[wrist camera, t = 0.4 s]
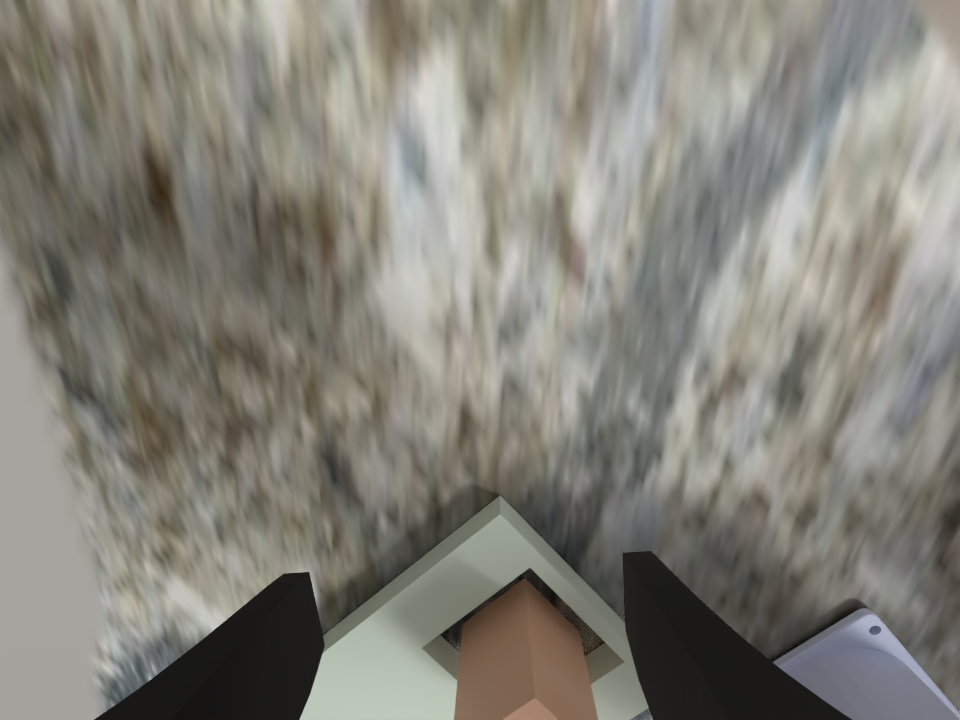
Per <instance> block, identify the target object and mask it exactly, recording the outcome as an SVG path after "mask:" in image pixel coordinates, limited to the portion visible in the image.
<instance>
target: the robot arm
mask: <svg viewBox="0 0 960 720" xmlns="http://www.w3.org/2000/svg"><path fill="white" fill-rule="evenodd" d="M623 576H624V604H625V630H626V634H627V638H628V642H629V646H630V650H631V654H632V658H633V661H634V665H635V669H636V672H637V676H638V680H639V682H640V685H641V688H642V691H643V693H644V696H645V699H646V701H647V704H648V707H649V710H650V712H651V715H652V718H653V720H960V712H959V711H958V710H957V709H956V708H955V707H954V705H953V704H952V703H951V702H950V701H949V699H948V698H947V697H946V696H945V695H944V694H943V692H942V691H941V690H940V689H939V688H938V687H937V685H936V684H935V683H934V682H933V681H932V679H931V678H930V677H929V676H928V675H927V674H926V672H925V671H924V670H923V669H922V668H921V666H920V665H919V664H918V663H917V662H916V661H915V659H914V658H913V657H912V656H911V655H910V653H909V652H908V651H907V650H906V649H905V648H904V646H903V645H902V644H901V643H900V642H899V640H898V639H897V638H896V637H895V636H894V635H893V633H892V632H891V631H890V630H889V629H888V628H887V626H886V625H885V624H884V623H883V622H882V620H881V619H880V618H879V617H878V616H877V615H876V614H875V613H874V612H873V611H872V610H870V609H867V608H863V609H859V610H857V611H855V612H853V613H852V614H850V615H848V616H847V617H845V618H844V619H842V620H840V621H839V622H837V623H835V624H834V625H832V626H831V627H829V628H827V629H826V630H824V631H822V632H821V633H819V634H817V635H816V636H814V637H813V638H811V639H809V640H808V641H806V642H804V643H803V644H801V645H800V646H798V647H796V648H795V649H793V650H791V651H790V652H788V653H786V654H785V655H783V656H782V657H780V658H778V659H777V660H775V661H773V662H771V661H770V660H769V659H768V658H766V657H765V656H764V655H763V654H762V653H760V652H759V651H758V650H757V649H755V648H754V647H753V646H752V645H751V644H749V643H748V642H747V641H746V640H745V639H743V638H742V637H741V636H740V635H739V634H738V633H737V632H735V631H734V630H733V629H732V628H731V627H730V626H729V625H727V624H726V623H725V622H724V621H723V620H722V619H721V618H720V617H719V616H718V615H716V614H715V613H714V612H713V611H712V610H711V609H710V608H709V607H708V606H707V605H705V604H704V603H703V602H702V601H701V600H700V599H699V598H698V597H697V596H696V595H695V594H694V593H693V592H692V591H691V590H690V589H689V588H688V587H687V586H686V585H685V584H683V583H682V582H681V581H680V580H679V579H678V578H677V577H676V576H675V575H674V574H673V573H672V572H671V571H670V570H669V569H668V568H667V567H666V566H665V565H664V564H663V563H662V562H661V561H660V560H659V559H658V558H657V557H656V556H655V555H654V554H653V553H652V552H651V551H646V552H630V553H623ZM324 647H325V643H324V639H323V634H322V630H321V625H320V620H319V616H318V611H317V606H316V602H315V597H314V592H313V588H312V583H311V579H310V574H309V572H304V573H288V574H283V575H282V576H280V577H279V578H277V579H276V580H275V581H274V582H272V583H271V584H270V585H268V586H267V587H266V588H265V589H263V590H262V591H261V592H260V593H259V594H257V595H256V596H255V597H254V598H253V599H251V600H250V601H249V602H248V603H247V604H245V605H244V606H243V607H242V608H241V609H239V610H238V611H237V612H236V613H235V614H233V615H232V616H231V617H230V618H228V619H227V620H226V621H225V622H224V623H222V624H221V625H220V626H219V627H217V628H216V629H215V630H214V631H213V632H211V633H210V634H209V635H208V636H207V637H205V638H204V639H203V640H202V641H200V642H199V643H198V644H197V645H195V646H194V647H193V648H191V649H190V650H189V651H188V652H186V653H185V654H184V655H182V656H181V657H180V658H179V659H177V660H176V661H175V662H173V663H172V664H171V665H169V666H168V667H167V668H166V669H164V670H163V671H162V672H160V673H159V674H158V675H157V676H155V677H154V678H153V679H151V680H150V681H149V682H147V683H146V684H145V685H143V686H142V687H140V688H139V689H138V690H136V691H135V692H134V693H132V694H131V695H129V696H128V697H127V698H125V699H124V700H122V701H121V702H119V703H118V704H117V705H115V706H114V707H112V708H111V709H109V710H108V711H106V712H105V713H103V714H102V715H100V716H99V717H98V718H96V719H94V720H300V717H301V715H302V713H303V710H304V708H305V705H306V703H307V701H308V698H309V696H310V693H311V690H312V687H313V684H314V680H315V677H316V674H317V671H318V667H319V664H320V661H321V657H322V654H323V650H324Z"/></svg>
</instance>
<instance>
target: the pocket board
mask: <svg viewBox="0 0 960 720" xmlns="http://www.w3.org/2000/svg"><path fill="white" fill-rule="evenodd" d="M529 568H531V569H532V570H533V571H534V572H535V573H536V574H537V575H538V576H539V577H540V578H541V579H542V580H543V581H544V582H545V583H546V584H547V585H548V586H549V587H550V588H551V589H552V590H553V591H554V592H555V593H556V594H557V595H558V596H559V597H560V598H561V599H562V600H563V601H564V602H565V603H566V604H567V605H568V606H569V607H570V608H571V609H572V610H573V611H574V612H575V613H576V614H577V615H578V616H579V617H580V618H581V619H582V620H583V621H584V622H585V623H586V624H587V625H588V626H589V627H590V628H591V629H592V630H593V631H594V632H595V633H596V634H597V635H598V636H599V637H600V638H601V639H602V640H603V641H604V642H605V643H604V644H602V645H601V646H599V647H598V648H596V649H595V650H593V651H592V652H591V653H589V654H588V655H586V656H585V660H586V664H587V669H588V674H589V679H590V683H591V688H592V693H593V697H594V702H595V707H596V711H597V716H598V720H630V719H632V718H633V717H635V716H637V715H638V714H640V713H641V712H643V711H645V710H646V709H648V708H649V707H648V704H647V701H646V699H645V696H644V693H643V691H642V688H641V685H640V682H639V680H638V676H637V672H636V669H635V665H634V661H633V658H632V654H631V650H630V646H629V642H628V638H627V634H626V630H625V622H624V621H623V620H622V619H621V618H620V617H619V616H618V615H617V614H616V613H615V612H614V611H613V610H612V609H611V608H610V607H609V606H608V605H607V604H606V603H605V602H604V601H603V600H602V599H601V598H600V596H599V595H598V594H597V593H596V592H595V591H594V590H593V589H592V588H591V587H590V586H589V585H588V584H587V583H586V582H585V581H584V580H583V579H582V578H581V577H580V576H579V575H578V574H577V573H576V572H575V571H574V570H573V569H572V568H571V567H570V566H569V565H568V564H567V563H566V562H565V561H564V560H563V559H562V558H561V557H560V556H559V555H558V554H557V553H556V552H555V551H554V550H553V549H552V548H551V547H550V546H549V545H548V544H547V543H546V541H545V540H544V539H543V538H542V537H541V536H540V535H539V534H538V533H537V532H536V531H535V530H534V529H533V528H532V527H531V526H530V525H529V524H528V523H527V522H526V521H525V520H524V519H523V518H522V517H521V516H520V515H519V514H518V513H517V512H516V511H515V510H514V509H513V508H512V507H511V506H510V505H509V504H508V503H507V502H506V501H505V500H504V499H503V498H502V497H501V496H498V497H497V498H496V499H495V500H493V501H492V502H491V503H490V504H488V505H487V506H486V507H485V508H483V509H482V510H481V511H480V512H478V513H477V514H476V515H474V516H473V517H472V518H471V519H469V520H468V521H467V522H466V523H464V524H463V525H462V526H461V527H459V528H458V529H457V530H456V531H454V532H453V533H452V534H451V535H449V536H448V537H447V538H446V539H444V540H443V541H442V542H440V543H439V544H438V545H437V546H435V547H434V548H433V549H432V550H430V551H429V552H428V553H427V554H425V555H424V556H423V557H422V558H420V559H419V560H418V561H417V562H415V563H414V564H413V565H411V566H410V567H409V568H408V569H406V570H405V571H404V572H403V573H401V574H400V575H399V576H398V577H396V578H395V579H394V580H393V581H391V582H390V583H389V584H388V585H386V586H385V587H384V588H382V589H381V590H380V591H379V592H377V593H376V594H375V595H374V596H372V597H371V598H370V599H369V600H367V601H366V602H365V603H364V604H362V605H361V606H360V607H359V608H357V609H356V610H355V611H354V612H352V613H351V614H350V615H348V616H347V617H346V618H345V619H343V620H342V621H341V622H340V623H338V624H337V625H336V626H335V627H333V628H332V629H331V630H330V631H328V632H327V633H326V634H325V635H323V639H324V643H325V647H324V650H323V654H322V657H321V661H320V664H319V667H318V671H317V674H316V677H315V680H314V684H313V687H312V690H311V693H310V696H309V698H308V701H307V703H306V705H305V708H304V710H303V713H302V715H301V717H300V720H454V713H455V702H456V691H457V680H458V669H459V658H460V653H459V652H458V651H457V650H456V649H455V648H454V647H453V646H452V645H451V644H450V643H448V642H447V641H446V640H445V639H444V638H443V637H442V636H441V635H440V634H441V633H442V632H444V631H445V630H446V629H448V628H449V627H450V626H452V625H453V624H455V623H456V622H457V621H459V620H460V619H461V618H463V617H464V616H465V615H467V614H468V613H469V612H471V611H472V610H473V609H475V608H476V607H477V606H479V605H480V604H481V603H483V602H484V601H485V600H487V599H488V598H490V597H491V596H492V595H494V594H495V593H496V592H498V591H499V590H500V589H502V588H503V587H504V586H506V585H507V584H508V583H510V582H511V581H512V580H514V579H515V578H516V577H518V576H519V575H520V574H522V573H523V572H525V571H526V570H527V569H529Z"/></svg>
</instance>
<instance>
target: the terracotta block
mask: <svg viewBox="0 0 960 720" xmlns="http://www.w3.org/2000/svg"><path fill="white" fill-rule="evenodd" d="M454 720H598V716H597V711H596V707H595V702H594V697H593V693H592V688H591V683H590V679H589V674H588V669H587V664H586V660H585V655H584V650H583V646H582V641H581V636H580V632H579V631H578V630H577V629H576V628H575V627H574V626H573V625H572V624H571V623H570V622H569V621H568V620H567V619H566V618H565V617H564V616H563V615H562V614H561V613H560V612H559V611H558V610H557V609H556V608H555V607H554V606H553V605H552V604H551V603H550V602H549V601H548V600H547V599H546V598H545V597H544V596H543V595H542V594H541V593H540V592H539V591H538V590H537V589H536V588H535V587H534V586H533V585H532V584H531V583H530V582H529V581H528V580H527V579H526V578H524V579H523V580H521V581H520V582H518V583H517V584H516V585H514V586H513V587H512V588H510V589H509V590H508V591H506V592H505V593H504V594H502V595H501V596H500V597H498V598H497V599H495V600H494V601H493V602H491V603H490V604H489V605H487V606H486V607H485V608H483V609H482V610H481V611H479V612H478V613H477V614H475V615H474V616H472V617H471V618H470V619H468V620H467V621H466V622H464V623H463V626H462V636H461V647H460V658H459V669H458V680H457V691H456V702H455V713H454Z"/></svg>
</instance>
